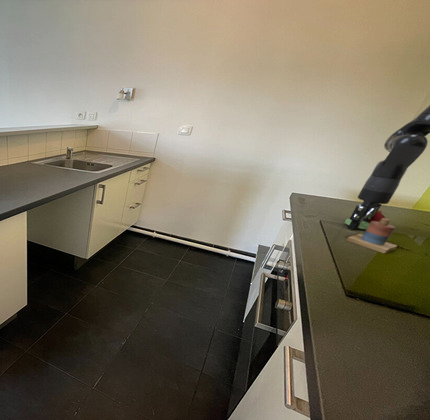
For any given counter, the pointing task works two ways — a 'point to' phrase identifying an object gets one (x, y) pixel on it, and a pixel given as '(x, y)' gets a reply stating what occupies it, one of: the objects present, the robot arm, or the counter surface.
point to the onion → (377, 217)
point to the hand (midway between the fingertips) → (355, 228)
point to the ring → (362, 225)
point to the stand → (375, 236)
